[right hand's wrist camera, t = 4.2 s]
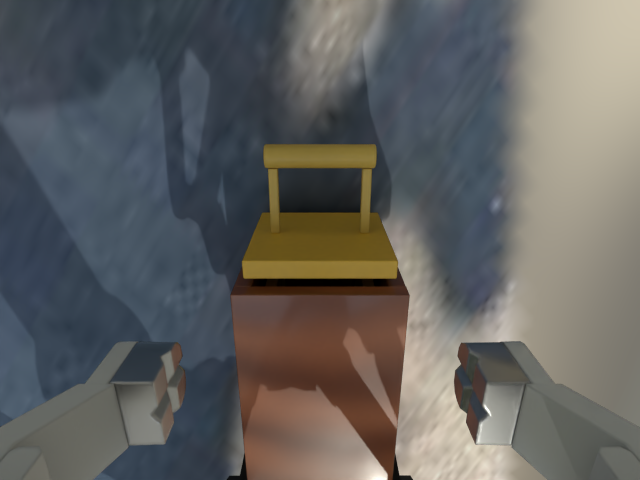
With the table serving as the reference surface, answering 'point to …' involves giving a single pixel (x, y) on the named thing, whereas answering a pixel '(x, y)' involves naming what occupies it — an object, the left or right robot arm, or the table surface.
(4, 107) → the table surface
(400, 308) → the cabinet
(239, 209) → the table surface
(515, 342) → the right robot arm
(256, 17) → the table surface
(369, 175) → the yellow drawer
